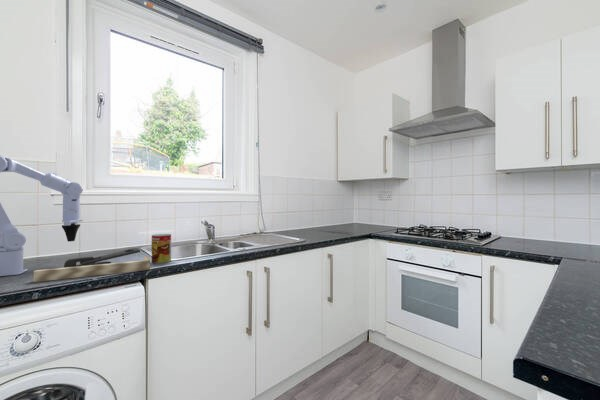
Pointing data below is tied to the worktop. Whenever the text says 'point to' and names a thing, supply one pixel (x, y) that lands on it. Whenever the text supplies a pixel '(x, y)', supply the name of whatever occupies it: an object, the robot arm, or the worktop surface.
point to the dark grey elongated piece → (98, 258)
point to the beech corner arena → (91, 270)
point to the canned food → (161, 248)
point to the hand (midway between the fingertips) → (71, 241)
